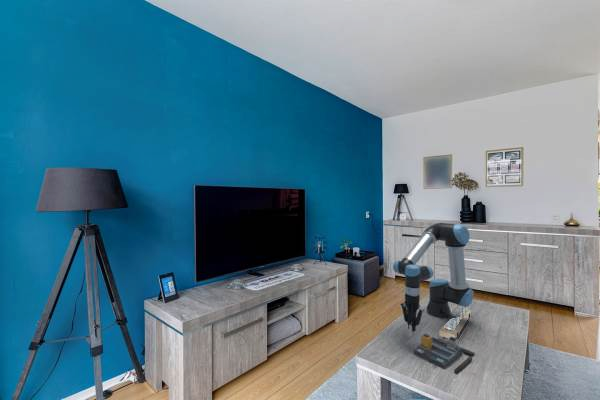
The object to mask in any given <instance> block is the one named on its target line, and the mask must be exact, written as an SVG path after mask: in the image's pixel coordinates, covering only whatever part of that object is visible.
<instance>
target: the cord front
mask: <svg viewBox="0 0 600 400" xmlns="http://www.w3.org/2000/svg"><path fill="white" fill-rule="evenodd" d="M437 339H440V340H442V341H445V342H447V340H445V339H443V338H441V337H438V338H437ZM459 348H461V351H462V354H465V355H468V356H469V357H471V358H473V357H474V356H475V352H474V351H472V350H469V349H467V348H465V347H462V346H459Z"/></svg>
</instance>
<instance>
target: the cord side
mask: <svg viewBox="0 0 600 400" xmlns="http://www.w3.org/2000/svg"><path fill="white" fill-rule="evenodd" d="M472 360H473V357H472V356H468V358H466V359H465V360H463V361H462V362H461V363H460V364H459V365H458V366H457V367H455V368H454V370H453V371H454V373H455V374H458V373H459V372H460V371H462V369H464V368H465V367H466V366H467V365H468V364H469V363H470V362H471V361H472Z"/></svg>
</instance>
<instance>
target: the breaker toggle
mask: <svg viewBox="0 0 600 400" xmlns="http://www.w3.org/2000/svg"><path fill="white" fill-rule="evenodd" d="M420 343H421V346H423V347H425V348H427V349H431V348H432V335H431V334H428V333H424V334H421V336H420Z"/></svg>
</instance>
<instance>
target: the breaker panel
mask: <svg viewBox="0 0 600 400" xmlns="http://www.w3.org/2000/svg"><path fill="white" fill-rule="evenodd" d="M431 336H432V335H431ZM459 340H460V339H457V338H456V337H453V336H449V337H448V338H447V339H446V340H445V341H447V342H445V341H442V340H440V339H438V338H437V337H435V336H432V348H431V349H427V348H425V347H423V346H421V342H420V343H418V344H417V346H416V347H415V348H413V355H416V356H418V357H419V358H422V359H424V360H426V361H428V362H430V363H432V364H434V365H436V366H438V367H440V368H442V369H444V370H445V369H446V368H448V367H449V366H450V365H452V363H454V362H456V361H457V360H458V359H459V358H460V357H461V356H463V352H462V351H461V348H459V343H460V341H459Z"/></svg>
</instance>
